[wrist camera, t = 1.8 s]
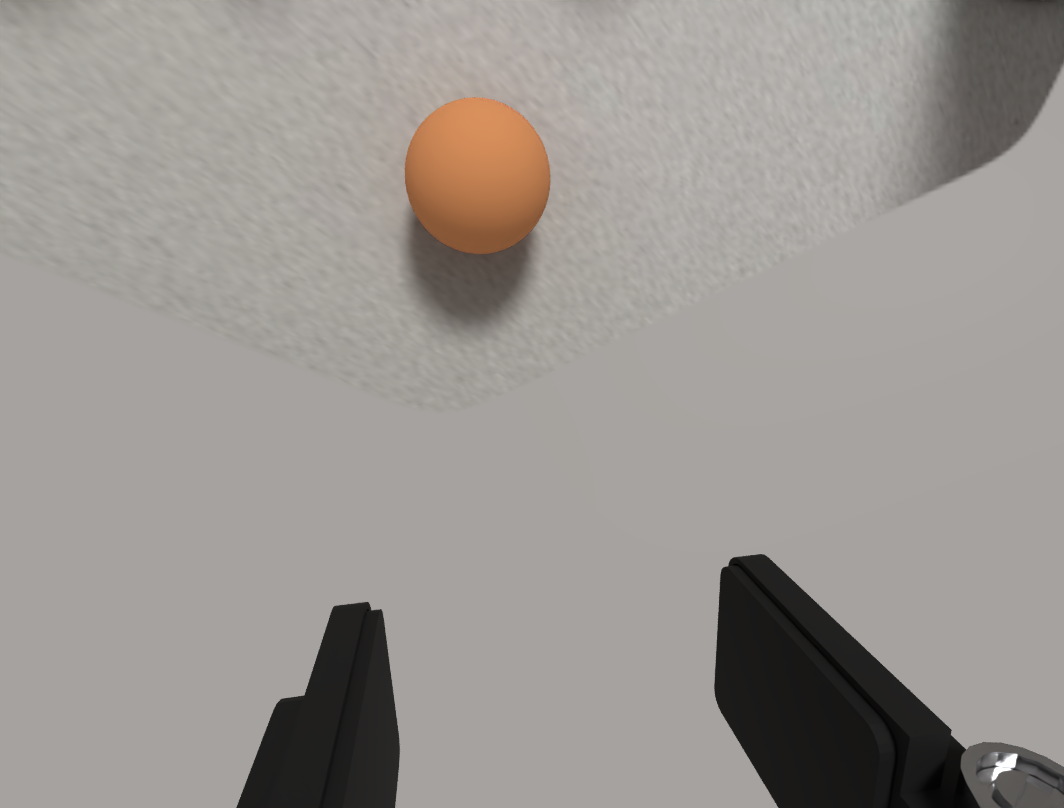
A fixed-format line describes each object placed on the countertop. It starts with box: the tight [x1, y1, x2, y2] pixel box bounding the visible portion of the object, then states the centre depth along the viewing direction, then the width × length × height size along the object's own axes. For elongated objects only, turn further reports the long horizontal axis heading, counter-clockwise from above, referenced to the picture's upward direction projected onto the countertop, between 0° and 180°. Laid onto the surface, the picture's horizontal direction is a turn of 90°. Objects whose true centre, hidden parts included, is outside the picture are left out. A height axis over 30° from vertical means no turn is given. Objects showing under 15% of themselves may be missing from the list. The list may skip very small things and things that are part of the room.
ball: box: [405, 97, 550, 254], centre depth 21 cm, size 6×6×6 cm
